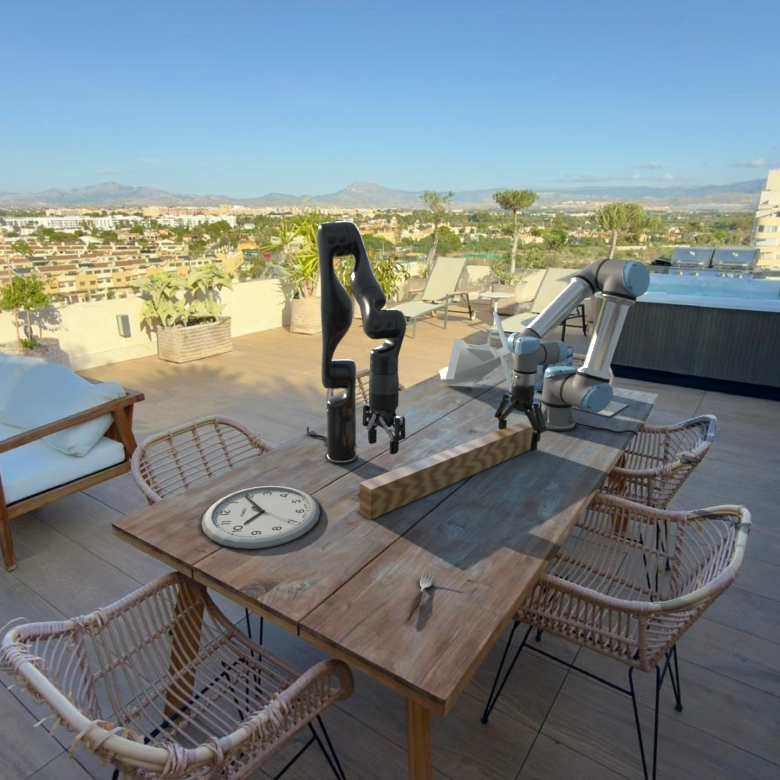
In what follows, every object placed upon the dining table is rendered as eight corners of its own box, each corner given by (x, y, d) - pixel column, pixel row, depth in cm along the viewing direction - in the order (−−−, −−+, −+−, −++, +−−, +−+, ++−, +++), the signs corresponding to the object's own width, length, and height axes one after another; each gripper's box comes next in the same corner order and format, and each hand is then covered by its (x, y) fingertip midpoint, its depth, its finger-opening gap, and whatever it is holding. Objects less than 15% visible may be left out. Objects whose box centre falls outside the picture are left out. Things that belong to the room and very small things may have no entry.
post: (521, 444, 186) (523, 421, 183) (532, 448, 182) (535, 425, 180) (359, 512, 140) (359, 482, 137) (370, 519, 136) (371, 489, 134)
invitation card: (608, 416, 214) (573, 407, 224) (608, 416, 214) (573, 408, 224) (628, 404, 229) (594, 396, 238) (628, 405, 229) (594, 397, 238)
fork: (401, 621, 101) (401, 612, 100) (424, 572, 115) (424, 565, 115) (413, 625, 100) (414, 616, 100) (435, 575, 114) (436, 567, 114)
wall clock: (317, 540, 124) (186, 544, 121) (317, 546, 124) (187, 551, 121) (322, 481, 152) (216, 484, 150) (322, 486, 153) (216, 489, 150)
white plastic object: (461, 429, 252) (437, 405, 227) (444, 352, 274) (420, 323, 250) (535, 404, 240) (518, 377, 215) (510, 326, 262) (492, 293, 237)
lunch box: (545, 396, 239) (550, 351, 232) (524, 391, 246) (528, 347, 240) (572, 385, 256) (577, 343, 250) (552, 380, 263) (557, 339, 257)
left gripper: (354, 385, 134) (354, 443, 139) (391, 398, 124) (390, 461, 129) (377, 380, 139) (376, 436, 144) (414, 392, 129) (412, 453, 134)
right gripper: (487, 377, 180) (482, 435, 186) (549, 395, 162) (542, 458, 168) (500, 374, 184) (495, 430, 191) (562, 390, 167) (554, 452, 173)
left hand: (382, 448), depth 136 cm, fingers open, 8 cm apart
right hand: (517, 444), depth 180 cm, fingers open, 12 cm apart
